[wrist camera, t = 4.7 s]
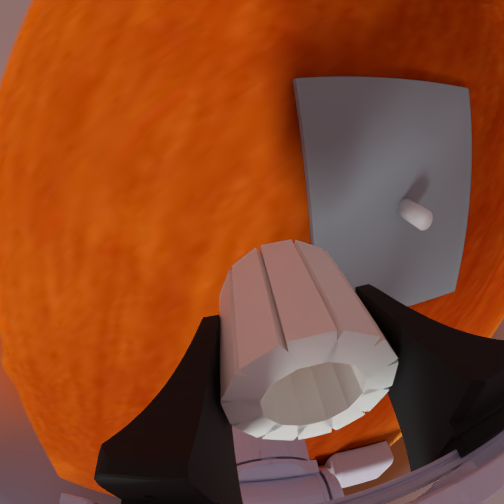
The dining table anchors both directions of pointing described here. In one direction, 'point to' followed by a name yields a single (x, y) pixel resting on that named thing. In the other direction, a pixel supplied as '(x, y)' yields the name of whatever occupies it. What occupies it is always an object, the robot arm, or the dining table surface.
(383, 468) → the charger
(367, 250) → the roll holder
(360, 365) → the paper roll
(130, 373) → the dining table surface
